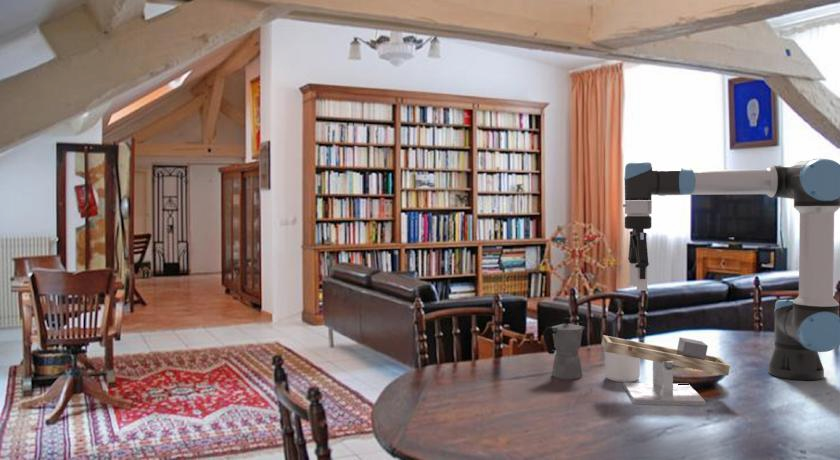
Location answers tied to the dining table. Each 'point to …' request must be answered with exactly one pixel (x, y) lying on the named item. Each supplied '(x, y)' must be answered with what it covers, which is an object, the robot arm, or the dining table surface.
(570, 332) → the coffeepot
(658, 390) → the stand
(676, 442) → the dining table surface
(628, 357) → the cup
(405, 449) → the dining table surface
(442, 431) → the dining table surface
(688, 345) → the block
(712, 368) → the beam
